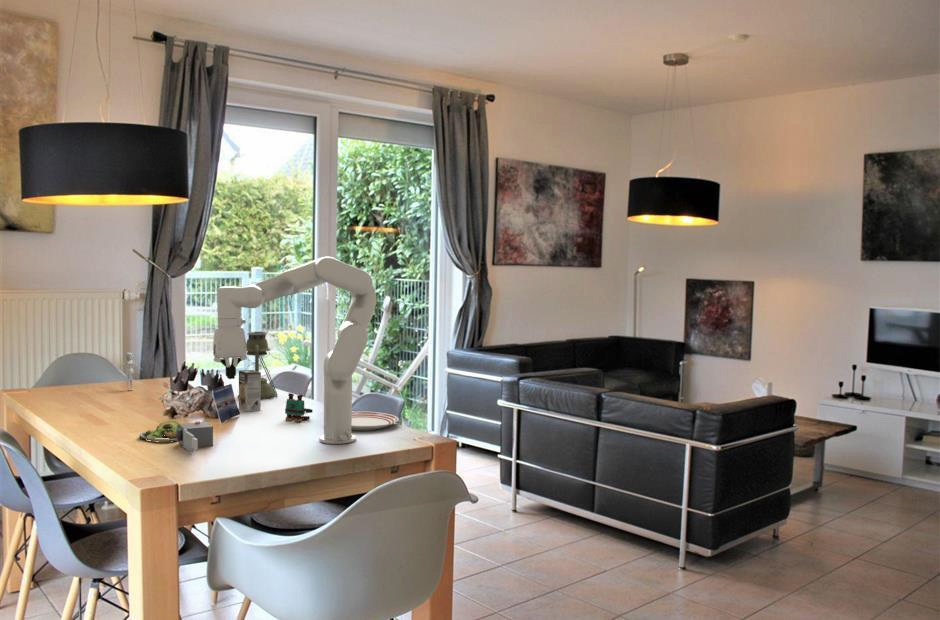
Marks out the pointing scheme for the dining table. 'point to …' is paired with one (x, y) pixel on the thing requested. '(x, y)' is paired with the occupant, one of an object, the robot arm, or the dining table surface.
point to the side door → (190, 441)
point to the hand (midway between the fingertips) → (230, 378)
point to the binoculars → (296, 409)
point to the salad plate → (162, 432)
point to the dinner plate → (372, 420)
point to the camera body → (197, 433)
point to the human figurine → (129, 368)
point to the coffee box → (249, 390)
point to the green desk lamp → (259, 347)
